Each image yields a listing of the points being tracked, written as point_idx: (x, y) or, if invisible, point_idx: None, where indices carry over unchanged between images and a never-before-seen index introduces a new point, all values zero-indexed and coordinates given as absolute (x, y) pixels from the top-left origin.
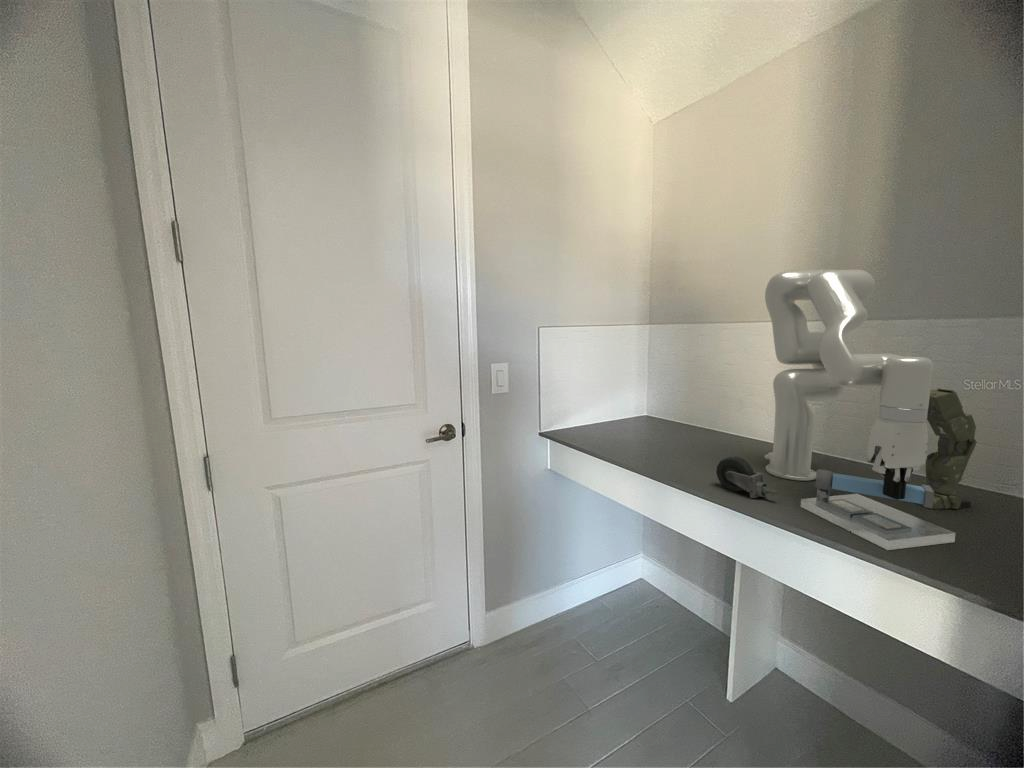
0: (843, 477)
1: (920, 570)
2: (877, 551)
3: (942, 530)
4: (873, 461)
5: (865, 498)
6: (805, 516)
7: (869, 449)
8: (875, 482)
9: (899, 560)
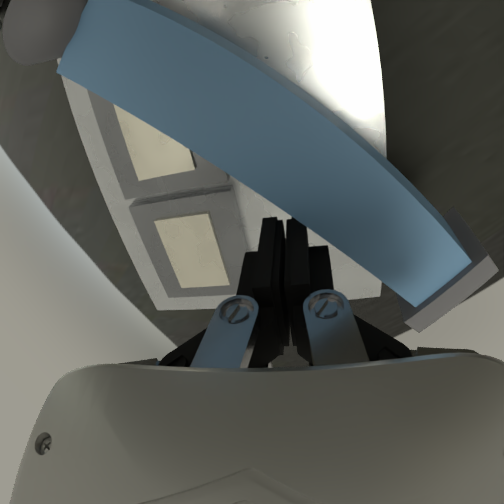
0: (108, 77)
1: (179, 341)
2: (141, 291)
3: (361, 283)
4: (126, 372)
5: (353, 7)
6: (55, 116)
7: (30, 479)
8: (266, 177)
9: (164, 318)
